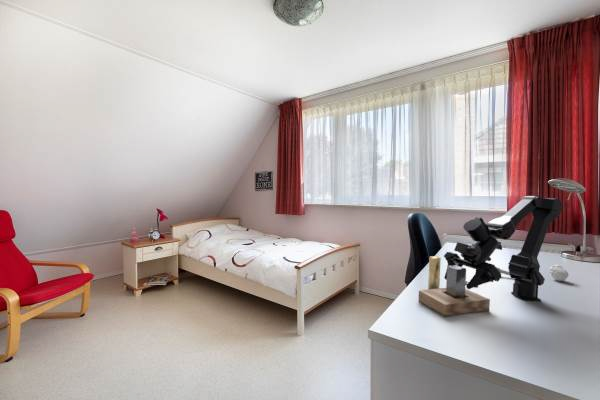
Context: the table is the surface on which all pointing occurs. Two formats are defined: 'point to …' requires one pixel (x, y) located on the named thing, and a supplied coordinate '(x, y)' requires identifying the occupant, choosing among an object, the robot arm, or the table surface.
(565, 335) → the table surface
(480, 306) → the bore block
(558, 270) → the crumpled paper ball
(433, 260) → the brass pin
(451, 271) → the grey rectangular block
